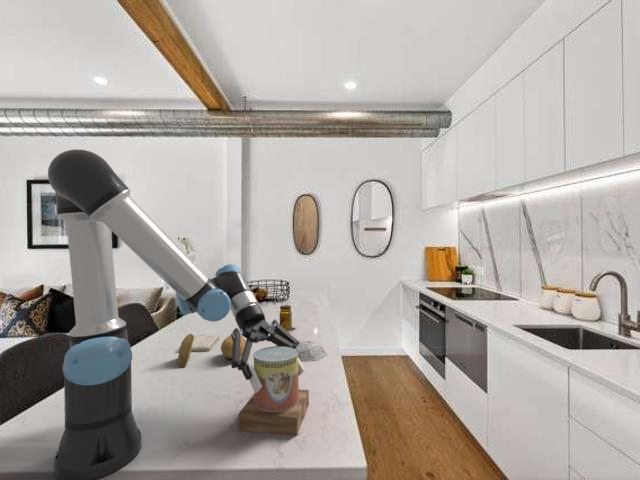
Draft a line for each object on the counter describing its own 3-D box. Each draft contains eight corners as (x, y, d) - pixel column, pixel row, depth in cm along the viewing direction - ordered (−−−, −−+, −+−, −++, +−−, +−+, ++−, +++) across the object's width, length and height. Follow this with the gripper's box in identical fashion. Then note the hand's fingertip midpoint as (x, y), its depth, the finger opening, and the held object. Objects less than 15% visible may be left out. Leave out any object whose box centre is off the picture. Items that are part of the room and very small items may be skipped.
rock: (190, 362, 116) (205, 349, 126) (175, 343, 117) (191, 331, 126) (170, 378, 119) (187, 364, 129) (155, 359, 119) (173, 346, 129)
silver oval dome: (330, 360, 123) (329, 341, 123) (262, 366, 121) (261, 347, 122) (327, 350, 138) (326, 333, 139) (266, 355, 137) (265, 339, 137)
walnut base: (297, 435, 76) (297, 417, 76) (239, 430, 78) (238, 413, 78) (308, 404, 90) (308, 390, 90) (259, 401, 92) (258, 387, 92)
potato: (218, 365, 120) (217, 343, 120) (223, 352, 133) (223, 332, 133) (245, 363, 121) (245, 341, 121) (248, 351, 135) (248, 331, 135)
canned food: (256, 415, 77) (255, 363, 77) (252, 394, 88) (251, 348, 88) (303, 408, 81) (303, 358, 81) (293, 388, 91) (293, 344, 91)
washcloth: (220, 339, 153) (220, 332, 153) (210, 352, 135) (210, 345, 135) (193, 340, 152) (193, 333, 152) (180, 353, 134) (180, 346, 134)
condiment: (276, 331, 163) (276, 306, 163) (284, 327, 171) (283, 303, 171) (289, 332, 161) (289, 307, 161) (297, 328, 169) (296, 304, 169)
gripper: (276, 312, 104) (310, 373, 93) (200, 328, 86) (231, 406, 76) (287, 297, 100) (324, 359, 90) (209, 310, 83) (243, 390, 72)
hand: (281, 381), depth 83 cm, fingers open, 13 cm apart
